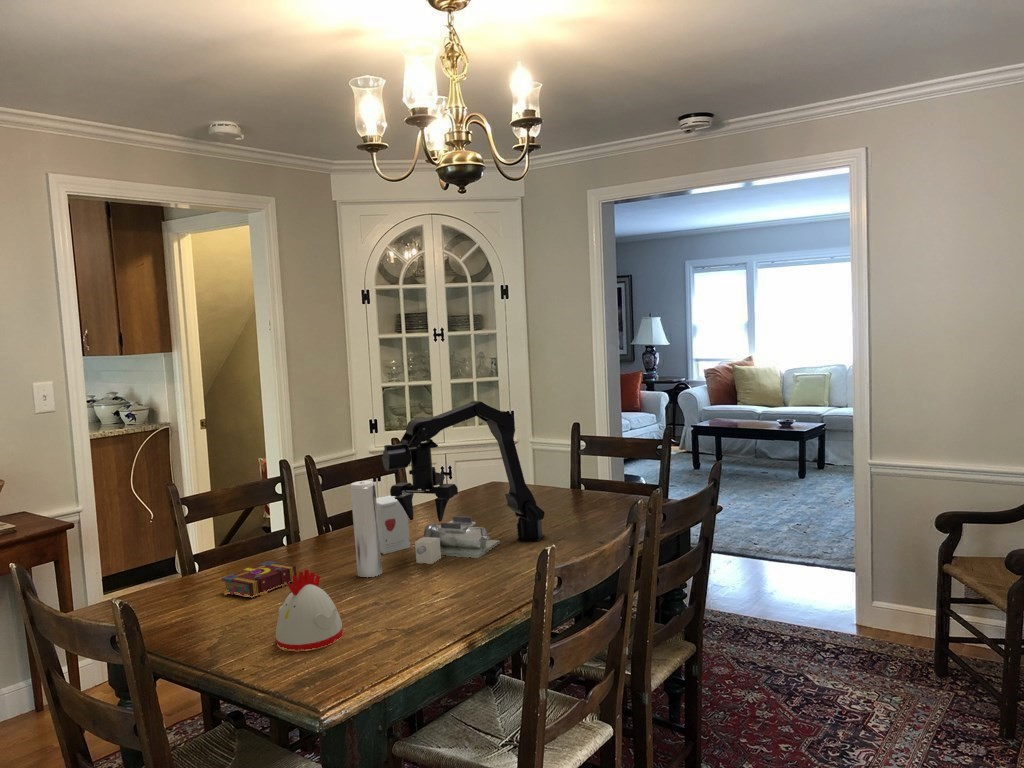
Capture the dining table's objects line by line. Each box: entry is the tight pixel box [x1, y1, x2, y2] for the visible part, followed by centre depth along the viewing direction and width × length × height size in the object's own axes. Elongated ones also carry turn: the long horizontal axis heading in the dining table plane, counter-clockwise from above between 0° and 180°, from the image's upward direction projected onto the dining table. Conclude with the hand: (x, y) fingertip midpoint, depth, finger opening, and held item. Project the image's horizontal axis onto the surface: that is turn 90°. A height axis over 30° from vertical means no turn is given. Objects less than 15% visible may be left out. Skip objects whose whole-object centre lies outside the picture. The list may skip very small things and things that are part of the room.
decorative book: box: [221, 560, 298, 596], centre depth 203 cm, size 11×16×5 cm
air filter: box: [350, 480, 383, 579], centre depth 208 cm, size 6×6×25 cm
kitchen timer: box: [275, 568, 344, 650], centre depth 167 cm, size 14×14×15 cm
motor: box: [423, 515, 501, 559], centre depth 226 cm, size 20×14×8 cm
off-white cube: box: [414, 536, 442, 565], centre depth 216 cm, size 5×7×6 cm
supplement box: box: [376, 495, 411, 555], centre depth 231 cm, size 9×9×15 cm
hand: (425, 520), depth 216 cm, fingers open, 9 cm apart
